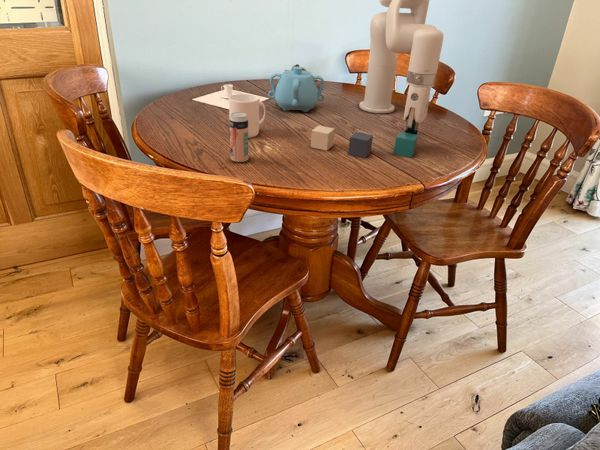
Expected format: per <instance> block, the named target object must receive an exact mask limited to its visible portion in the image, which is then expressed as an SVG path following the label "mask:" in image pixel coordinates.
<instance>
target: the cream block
mask: <svg viewBox="0 0 600 450" xmlns="http://www.w3.org/2000/svg"><path fill="white" fill-rule="evenodd" d="M335 130H336V128H335V127H329V126H325V125H324V126H323V125H319V124H318V125H317V126H316V127H314V128H313V129H312V130H311V135H310V136H311V137H310V148H313V149H317V150H322V151H325V152H326V151H327V152H328V151H329V150H330V149H331V148H333V146H334V141H335Z"/></svg>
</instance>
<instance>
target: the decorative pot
mask: <svg viewBox="0 0 600 450" xmlns="http://www.w3.org/2000/svg"><path fill="white" fill-rule="evenodd" d="M292 67H293V66H292ZM303 68H304V67H302V68H301V66H300V67H293V70H291V69H290V70H289V69H286V70H287V71H285V70H284V71H283V72H282V73H279V72H276V73H273V74H271V76H270V77H269V84H270V87H271V90H269V91H268V98H270V99H272V100H273V99H274V100H275V101H276V104H277V105H278V107H280V108H281V109H282V110H283V111H285V112H286V111H291V110H292V111H293V110H294V111H300V112H304V113H308V112H309V110H311V109H313V108H314V107H315V106H316V104H317V103H318V102H323V101H324V100H325V99H326V98H325V94H323V93H322V92H323V89H324V88H325V80H324V78H323V77H322V76H320V75H313V73H312V72H311V71H308V70H306V71H302V69H303ZM276 77H278V78H279V79H278V81H277V84H276V86H275V85H274V84H275V83H274V79H275V78H276ZM314 79H317V80H320V82H321V83H320V87H319V89H318V87H317V83H316V82H315V80H314ZM272 94H273V95H272Z"/></svg>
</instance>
